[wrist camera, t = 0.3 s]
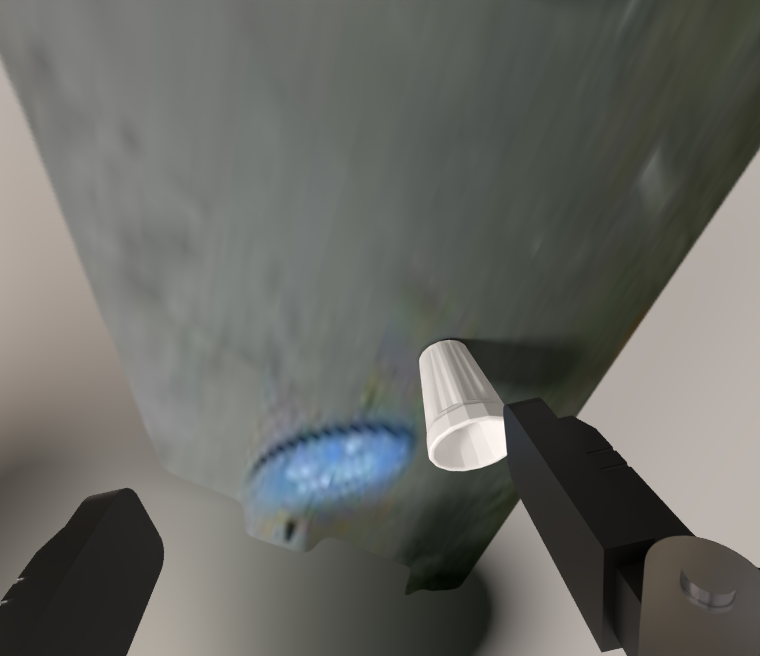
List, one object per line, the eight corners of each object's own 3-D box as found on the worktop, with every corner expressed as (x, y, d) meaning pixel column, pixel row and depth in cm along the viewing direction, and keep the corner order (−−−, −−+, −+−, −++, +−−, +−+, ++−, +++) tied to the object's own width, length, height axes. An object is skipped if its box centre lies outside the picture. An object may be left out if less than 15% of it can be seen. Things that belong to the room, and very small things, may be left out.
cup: (485, 368, 57) (525, 455, 48) (413, 390, 58) (438, 480, 48) (476, 315, 50) (521, 405, 41) (394, 341, 51) (419, 436, 42)
